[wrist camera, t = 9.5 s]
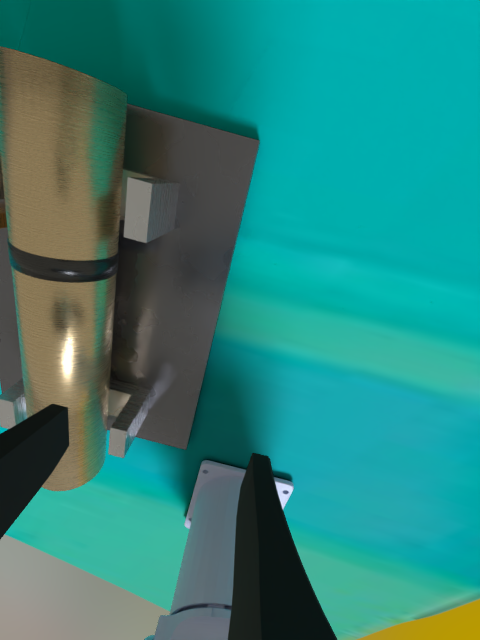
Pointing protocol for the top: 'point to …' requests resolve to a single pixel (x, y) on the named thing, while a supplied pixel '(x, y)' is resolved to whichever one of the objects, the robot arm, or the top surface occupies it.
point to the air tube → (63, 242)
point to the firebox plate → (156, 276)
